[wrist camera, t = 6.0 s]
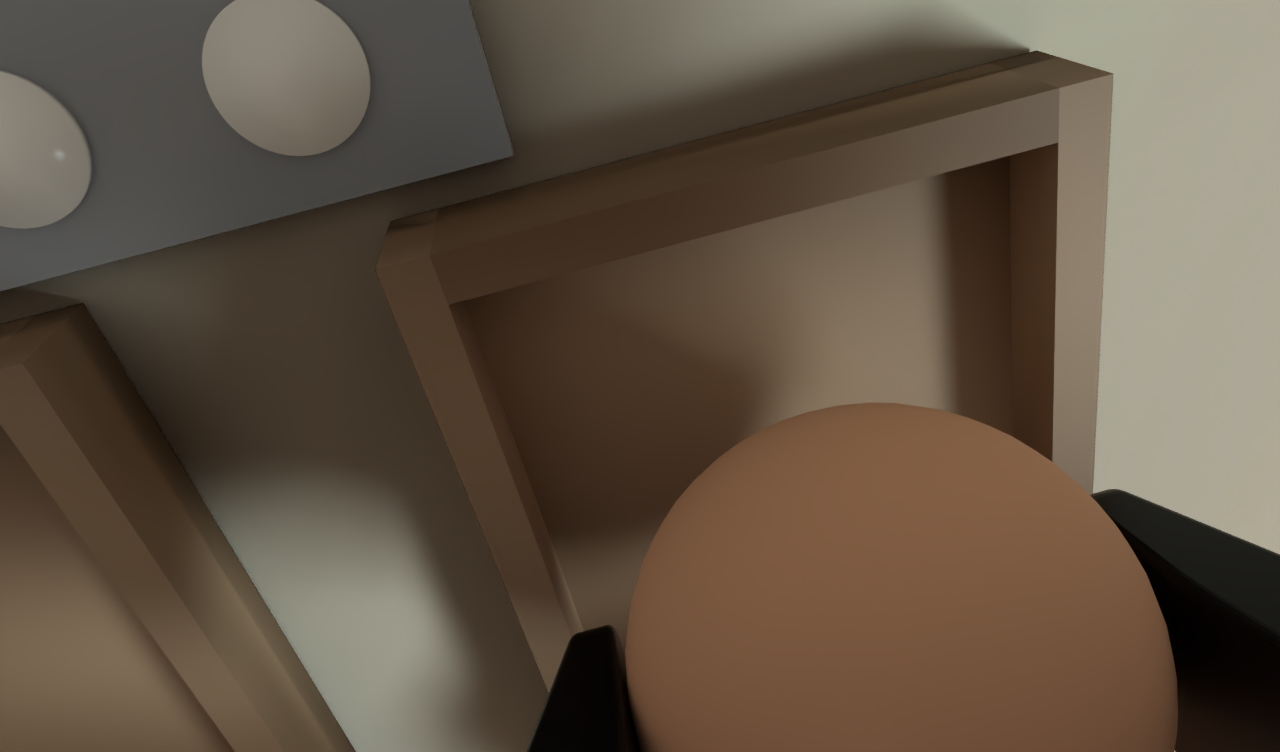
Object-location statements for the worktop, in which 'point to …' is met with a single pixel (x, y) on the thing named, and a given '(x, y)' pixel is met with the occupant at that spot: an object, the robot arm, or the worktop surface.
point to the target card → (222, 117)
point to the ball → (894, 600)
